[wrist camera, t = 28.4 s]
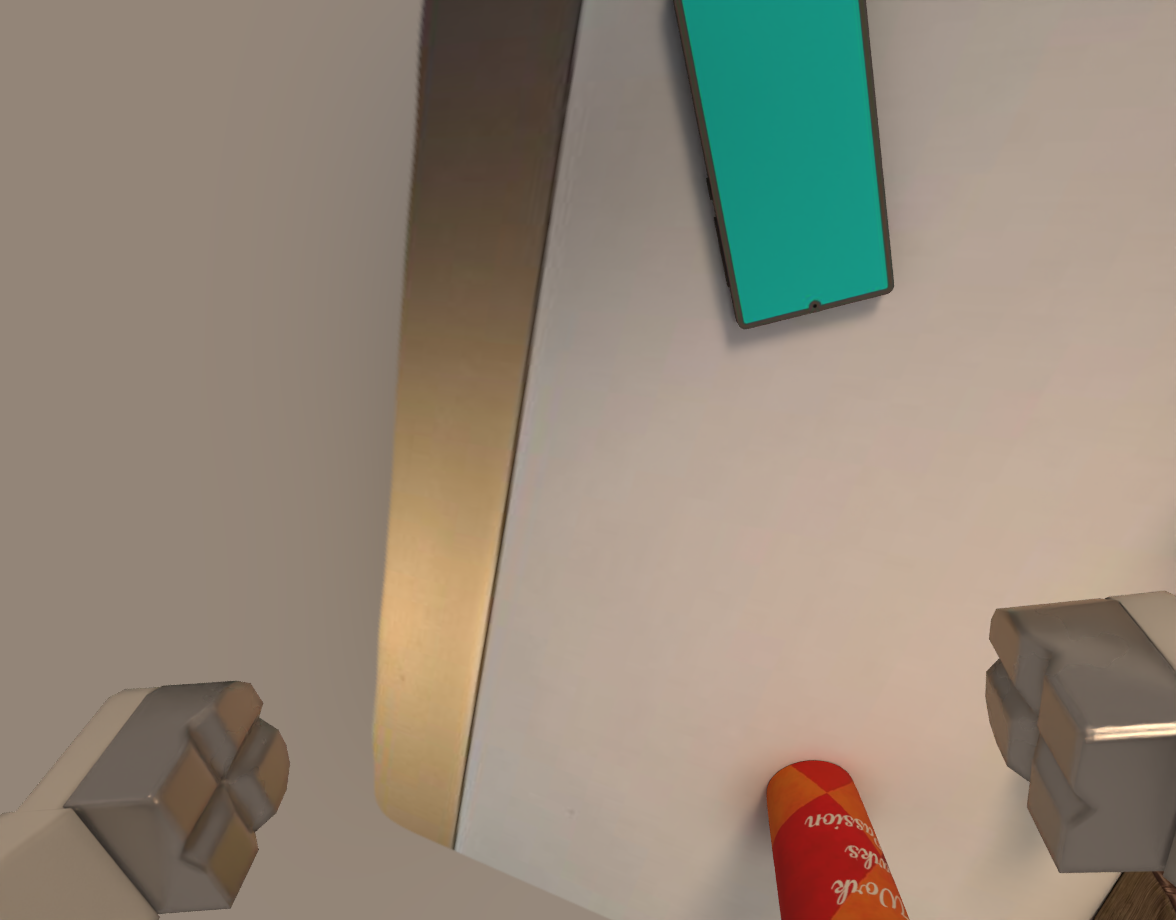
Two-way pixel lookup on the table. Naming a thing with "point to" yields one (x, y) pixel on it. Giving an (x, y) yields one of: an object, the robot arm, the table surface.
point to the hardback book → (1140, 898)
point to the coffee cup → (827, 848)
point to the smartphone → (790, 151)
